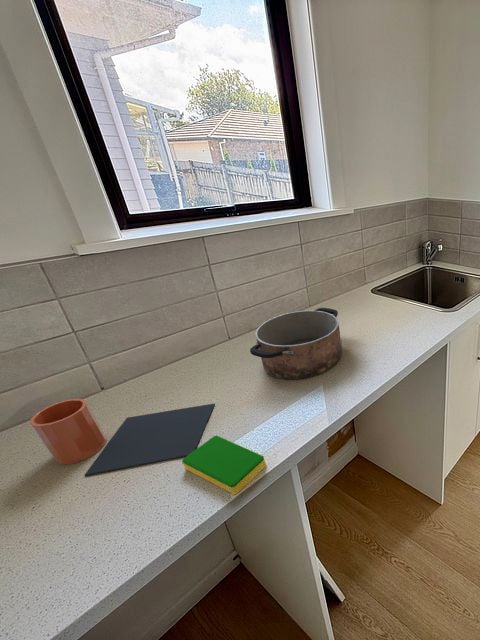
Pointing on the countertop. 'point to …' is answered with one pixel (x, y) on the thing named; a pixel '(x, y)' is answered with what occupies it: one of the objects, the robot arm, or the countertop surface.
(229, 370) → the countertop surface
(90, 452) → the cup
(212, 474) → the dish sponge
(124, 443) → the mat
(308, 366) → the cooking pot
